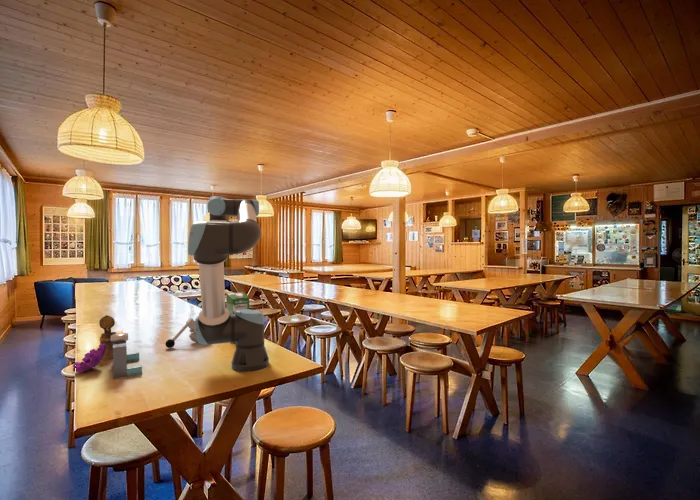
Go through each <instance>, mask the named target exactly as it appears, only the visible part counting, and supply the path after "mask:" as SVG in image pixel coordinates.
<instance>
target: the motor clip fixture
mask: <svg viewBox="0 0 700 500" xmlns="http://www.w3.org/2000/svg"><path fill="white" fill-rule="evenodd" d="M115 332H116V334H113V335H111V342H112V343H113V359H112V371H113V373H112V374H113V375H112V376H113V377H112V378H113V379H114V380H116V379H120V378H121V379H122V378H126V377H127V378H130V377H135V376H141V375H143V366H142V365H137V366H132V367H128V363H129V362H136V361H139V360H140V352H131V353H128V352H127V351H128V350H127V348H128V347H127V341H128V340H129V333H127V332H124V330H116V331H115Z"/></svg>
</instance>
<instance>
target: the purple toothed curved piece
mask: <svg viewBox="0 0 700 500" xmlns="http://www.w3.org/2000/svg"><path fill="white" fill-rule="evenodd" d="M105 351H106V344H101V345H100V344H99V346H98V348H97V349H95V348H91V350H89V352H86V353H85V354H84V357H83V358H82V359H81V360H82V361H80V362H79V361H78V362H77V361H76V362H74V363H73V365H72V371H73V372H75V368H76V372H75V373H83V372H88V371H89V370H91V369H94V368H95V367H97V366H98V365H99V364H100V363H101V362H102V361H103V360H102V358H103V356H104V354H105ZM75 365H76V366H75Z"/></svg>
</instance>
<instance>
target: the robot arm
mask: <svg viewBox="0 0 700 500" xmlns="http://www.w3.org/2000/svg"><path fill="white" fill-rule="evenodd" d="M206 205H207V211H208V213H209V221H206V220H203V221H194V222H193V223H192V224H191V225H190V229H189V234H188V235H189V236H188V246H187V252H188V253H187V254H188V255H189V256H193V260H194V262H196V263H197V264H198V272H199V284H200V285H199V287H200V298H201V311H200V312H199V313H198V315H197V316H196V317H195V319H194V321H195V330H196V331H195V332H196V337H197V340H198V342H199V343H198V344H199V345H208V346H210V345H217V344H218V345H219V344H227V343H231V344H232V342H236V343H235V350H234V353H233V357H232V360H231V369H232V370H233V371H237V372H254V371H259V370H262V369H265V368H266V367H267V368H268V366H269V365H270V361H269V360H270V359H269V356H268V353H267V352H268V351H267V350H266V347H265V323H266V322H265V315H264V313H263V312H261V311H260V310H255V309H250V308H249V309H239V310H236V311H235V314H230V313H229V311H228V309H227V307H226V291H225V290H226V289H225V288H226V287H225V286H226V285H225V266H224V263H225V262H226V261H227V259H228V257H229V255H239V254H243V253H246V252H248V251H250V250H251V249H252V248H254V247H255V246H256V245H257V244H258V243H259V242H260V239H261V237H262V228H261V225H260V224H259V223H258V221H257V216H259V214H260V202H259V200H258V199H251V198H250V199H244V198H243V199H242V198H241V199H239V198H236V199H235V198H225V197H224V196H218V195H217V196H216V195H214V196H210V197H209V200H208V201H207V204H206ZM228 216H229V217H231V216H234V217H237V221H227V217H228Z"/></svg>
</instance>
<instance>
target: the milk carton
mask: <svg viewBox="0 0 700 500" xmlns="http://www.w3.org/2000/svg"><path fill="white" fill-rule="evenodd" d="M225 306H226V308H227V309H228V311H229V313H230V314H235V311H236V310H239V309H250V297H249V296H248V295H247V294H246V293H245V292H243V291H238V292H237V291H236V292H228V293H226V292H225ZM231 344H236V342H231Z"/></svg>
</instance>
